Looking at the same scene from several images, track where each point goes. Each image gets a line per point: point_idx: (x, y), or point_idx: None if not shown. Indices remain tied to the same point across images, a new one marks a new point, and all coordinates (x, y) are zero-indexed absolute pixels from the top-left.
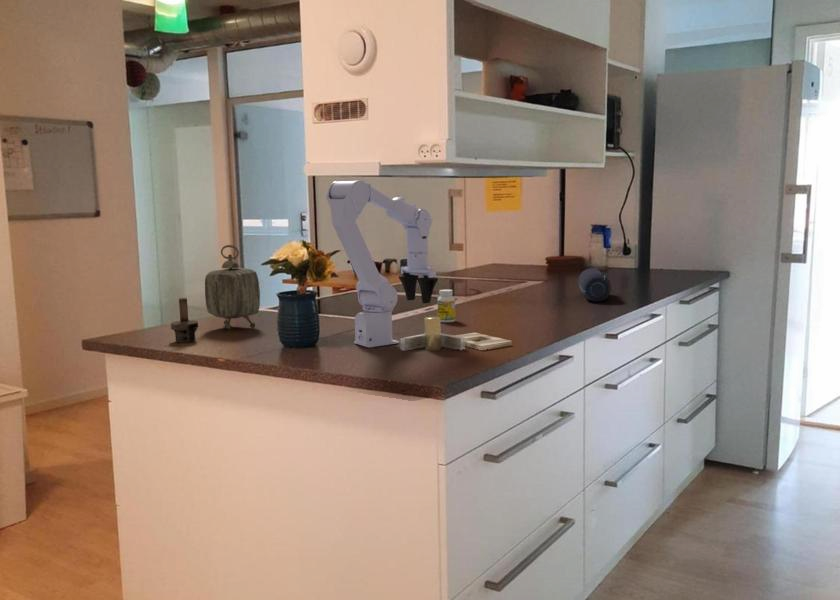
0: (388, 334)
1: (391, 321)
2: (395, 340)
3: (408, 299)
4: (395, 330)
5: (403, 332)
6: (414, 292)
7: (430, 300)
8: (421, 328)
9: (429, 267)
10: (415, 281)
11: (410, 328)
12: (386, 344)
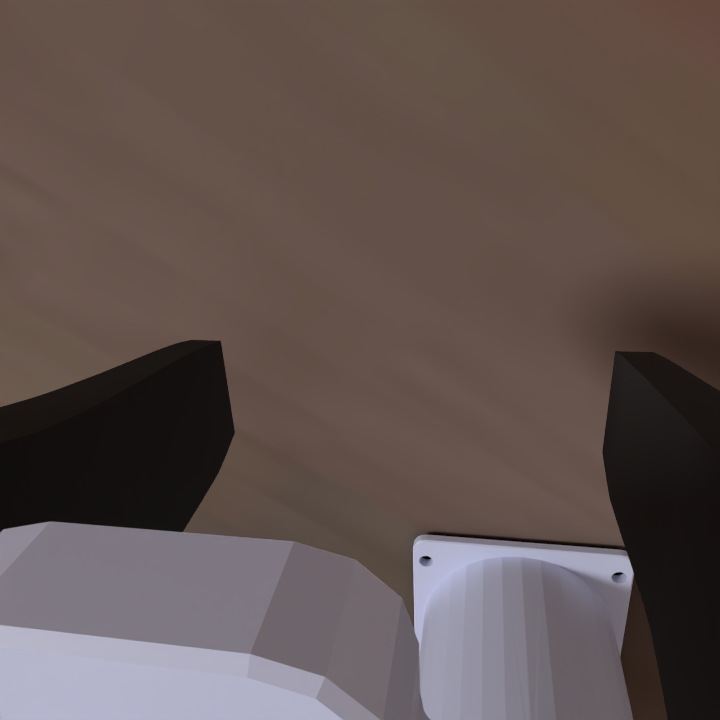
0: (621, 668)
1: (614, 716)
2: (583, 556)
3: (230, 441)
4: (147, 289)
5: (261, 288)
6: (168, 387)
7: (667, 360)
8: (170, 44)
9: (102, 670)
10: (37, 475)
11: (121, 135)
12: (622, 635)
